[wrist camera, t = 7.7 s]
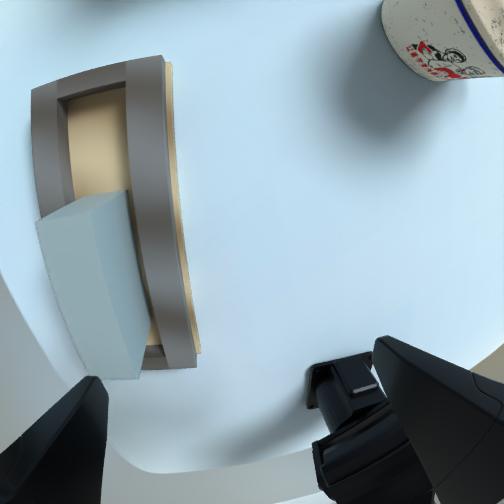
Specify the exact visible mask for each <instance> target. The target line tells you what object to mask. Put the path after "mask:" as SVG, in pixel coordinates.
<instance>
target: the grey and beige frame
mask: <svg viewBox="0 0 504 504" xmlns="http://www.w3.org/2000/svg"><path fill="white" fill-rule="evenodd" d="M31 137H32V153H33V164H34V174H35V182H36V189H37V196H38V202H39V208H40V214H41V219H42V218H44V217H46V216H47V215H49V214H51V213H53V212H55V211H57V210H59V209H60V208H62V207H64V206H66V205H68V204H70V203H72V202H74V201H76V200H78V199H80V198H82V197H84V196H90V195H95V194H101V193H107V192H113V191H120V190H126V189H127V190H128V198H129V205H130V212H131V218H132V225H133V231H134V237H135V242H136V248H137V253H138V258H139V263H140V268H141V273H142V278H143V282H144V287H145V291H146V295H147V299H148V304H149V308H150V312H151V316H152V322H151V326H150V330H149V335H148V339H147V343H146V348H145V352H144V357H143V361H142V366H141V370H163V369H182V368H197V354H200V341H199V335H198V330H197V324H196V318H195V312H194V306H193V300H192V293H191V287H190V280H189V273H188V266H187V259H186V251H185V243H184V235H183V226H182V217H181V208H180V198H179V187H178V175H177V163H176V148H175V132H174V111H173V76H172V64H171V62H165V60H164V58H163V56H162V55H158V56H152V57H145V58H140V59H134V60H129V61H124V62H120V63H115V64H111V65H107V66H103V67H99V68H95V69H91V70H87V71H84V72H81V73H77V74H74V75H71V76H68V77H65V78H62V79H59V80H56V81H53V82H50V83H47V84H45V85H42V86H40V87H37V88H35V89H32V90H31Z"/></svg>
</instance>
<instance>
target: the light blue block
mask: <svg viewBox="0 0 504 504" xmlns="http://www.w3.org/2000/svg"><path fill="white" fill-rule="evenodd" d="M35 225H36V230H37V234H38V239H39V243H40V247H41V251H42V254H43V258H44V262H45V265H46V269H47V272H48V275H49V279H50V282H51V285H52V288H53V291H54V294H55V297H56V300H57V302H58V305H59V308H60V311H61V313H62V316H63V318H64V321H65V324H66V326H67V328H68V331H69V333H70V336H71V338H72V340H73V343H74V345H75V347H76V349H77V351H78V354H79V356H80V358H81V360H82V362H83V364H84V366H85V368H86V370H87V372H88V374H89V376H98V377H99V378H100V379H110V380H139V376H140V371H141V366H142V361H143V357H144V352H145V348H146V343H147V339H148V335H149V330H150V326H151V322H152V316H151V312H150V308H149V304H148V299H147V295H146V291H145V287H144V282H143V278H142V273H141V268H140V263H139V258H138V253H137V248H136V242H135V237H134V231H133V225H132V218H131V212H130V205H129V198H128V190H127V189H126V190H120V191H113V192H107V193H101V194H95V195H90V196H84V197H82V198H80V199H78V200H76V201H74V202H72V203H70V204H68V205H66V206H64V207H62V208H60V209H59V210H57V211H55V212H53V213H51V214H49V215H47V216H46V217H44V218H42V219H40V220H39V221H37V222H35Z"/></svg>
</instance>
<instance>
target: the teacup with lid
mask: <svg viewBox="0 0 504 504" xmlns="http://www.w3.org/2000/svg"><path fill="white" fill-rule="evenodd" d="M381 17H382V23H383V27H384V30H385V33H386V35H387V37H388V40H389V41H390V43H391V45H392V47H393V48H394V50H395V51H396V53H397V54H398V55H399V57H400V58H401V59H402V60H403V61H404V62H405V63H406V64H407V65H408V66H409V67H410V68H411V69H412V70H413V71H415V72H416V73H417V74H419V75H421V76H422V77H424V78H426V79H429V80H432V81H449V80H458V79H469V78H484V77H504V0H384V2H383V5H382V9H381Z"/></svg>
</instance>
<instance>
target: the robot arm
mask: <svg viewBox="0 0 504 504" xmlns="http://www.w3.org/2000/svg"><path fill="white" fill-rule="evenodd" d="M372 364H373V365H374V367H375V370H376V372H377V375H378V377H379V379H380V382H381V384H382V387H383V389H384V392H385V394H386V395H385V394H384V392H383V391H382V389H381V388H380V386H379V383H378V381H377V380H376V378H375V377H374V375H373V374H372V372H371V368H372ZM386 396H387V397H386ZM108 403H109V397H108V393H107V391H106V389H105V387H104V386H103V384H102V382H101V380H100V378H99V377H98V376H86V377H84V378H83V379H82V380H81V381H80V382H79V383H78V384H76V385H75V386H74V387H73V388H72V389H71V390H70V391H69V392H68V393H67V394H65V395H64V396H63V397H62V398H61V399H60V400H59V401H58V402H57V403H56V404H54V405H53V406H52V407H51V408H50V409H49V410H48V411H47V412H46V413H45V414H44V415H43V416H41V417H40V418H39V419H38V420H37V421H36V422H35V423H34V424H33V425H32V426H31V427H30V428H29V429H27V430H26V431H25V432H24V433H23V434H22V436H20V437H19V438H18V439H17V440H16V441H15V442H13V443H12V444H11V445H10V446H9V447H8V448H7V449H6V450H4V451H3V452H2V453H1V454H0V504H101V502H100V501H101V487H102V476H103V466H104V458H105V449H106V441H107V424H108ZM306 407H307V409H315V408H320V411H321V413H322V415H323V418H324V420H325V422H326V425H327V427H328V429H329V432H330V435H328V436H326V437H324V438H322V439H321V440H319V441H318V440H317V441H315V442H313V443H312V448H313V451H312V453H313V459H314V464H315V470H316V476H317V482H318V487H319V489H320V490H322V491H324V492H325V494H326V495H327V496H328V497H329V498H330V499H331V500H333V501H336V503H337V504H436V503H435V501H434V495H435V493H436V495H437V497H438V499H439V501H440V503H441V504H504V384H503V383H500V382H497V381H494V380H491V379H489V378H486V377H483V376H481V375H479V374H476V373H474V372H472V373H471V371H469V370H467V369H464V368H462V367H460V366H457V365H455V364H453V363H450V362H448V361H446V360H443V359H441V358H439V357H436V356H434V355H432V354H429V353H427V352H425V351H422V350H420V349H418V348H416V347H413V346H411V345H409V344H407V343H404V342H402V341H400V340H398V339H395V338H393V337H391V336H388V335H385V336H382V337H378V338H377V339H376V340H375V344H374V349H373V352H372V351H369V352H366V353H362V354H358V355H354V356H350V357H346V358H341V359H337V360H332V361H328V362H323V363H318V364H315V365H313V366H312V367H311V372H310V380H309V387H308V394H307V401H306Z"/></svg>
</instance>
